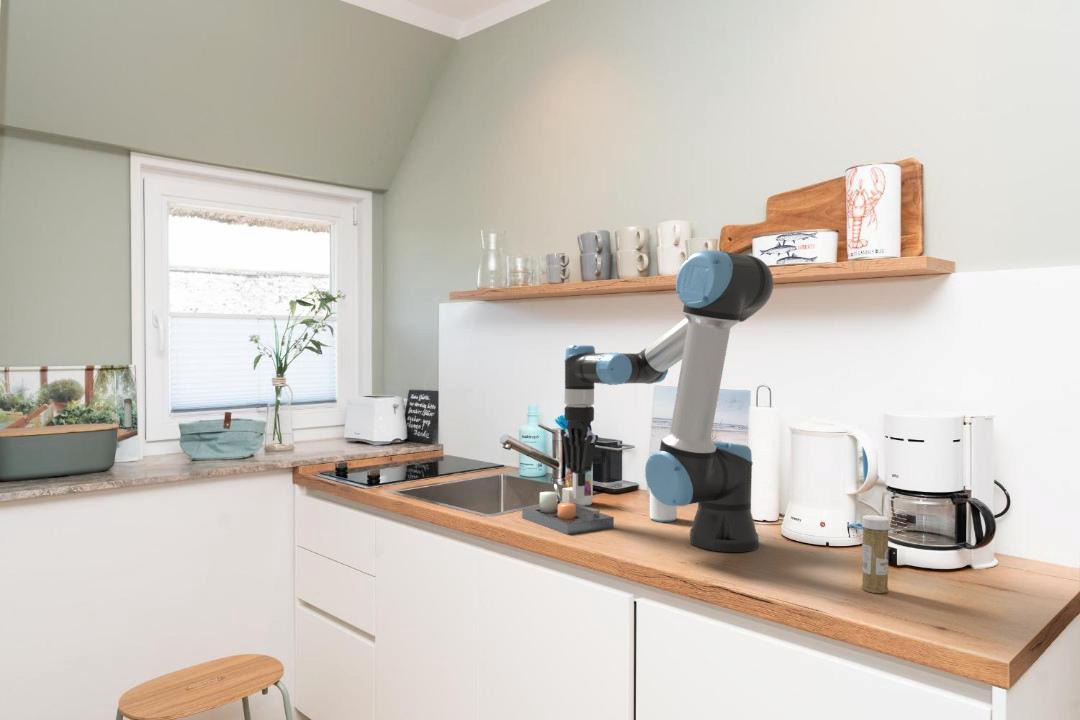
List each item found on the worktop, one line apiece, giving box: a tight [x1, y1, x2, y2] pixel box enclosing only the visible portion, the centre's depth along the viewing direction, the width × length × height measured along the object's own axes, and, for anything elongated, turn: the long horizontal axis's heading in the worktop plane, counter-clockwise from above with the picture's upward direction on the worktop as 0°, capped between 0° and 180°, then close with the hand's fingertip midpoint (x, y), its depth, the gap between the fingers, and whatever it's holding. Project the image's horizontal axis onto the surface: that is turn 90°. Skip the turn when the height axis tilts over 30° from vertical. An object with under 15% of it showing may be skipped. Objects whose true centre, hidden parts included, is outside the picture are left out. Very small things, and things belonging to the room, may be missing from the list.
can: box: [648, 489, 678, 523], centre depth 188 cm, size 7×7×12 cm
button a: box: [558, 503, 576, 520], centre depth 178 cm, size 4×4×4 cm
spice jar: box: [861, 514, 891, 594], centre depth 133 cm, size 5×5×13 cm
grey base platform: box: [521, 483, 615, 535], centre depth 183 cm, size 21×14×8 cm
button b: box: [539, 491, 557, 513], centre depth 185 cm, size 4×4×4 cm
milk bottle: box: [564, 463, 594, 506], centre depth 206 cm, size 8×8×20 cm
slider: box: [561, 487, 582, 503], centre depth 187 cm, size 3×4×4 cm
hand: (578, 498), depth 185 cm, fingers closed
